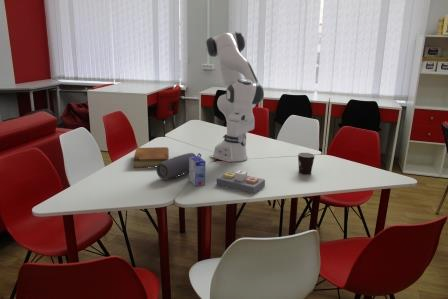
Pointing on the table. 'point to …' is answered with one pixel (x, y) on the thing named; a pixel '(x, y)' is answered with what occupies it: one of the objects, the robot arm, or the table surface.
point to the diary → (150, 156)
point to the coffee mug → (305, 163)
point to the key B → (241, 175)
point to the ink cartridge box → (197, 170)
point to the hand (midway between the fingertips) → (241, 141)
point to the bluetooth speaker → (174, 166)
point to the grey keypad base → (241, 184)
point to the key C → (252, 180)
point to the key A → (229, 175)
